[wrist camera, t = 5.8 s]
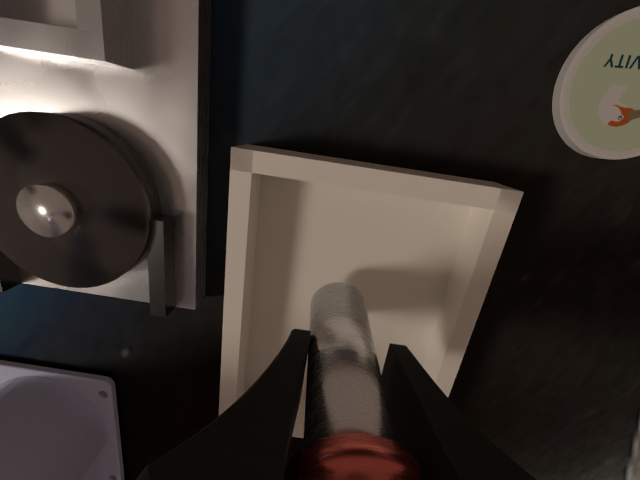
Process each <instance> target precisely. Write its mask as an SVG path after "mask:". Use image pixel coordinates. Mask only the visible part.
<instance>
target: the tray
mask: <svg viewBox="0 0 640 480" xmlns="http://www.w3.org/2000/svg"><path fill="white" fill-rule="evenodd" d="M523 193H524V192H522V191H519V190H516V189H513V188H510V187H507V186H504V185H501V184H498V183H495V182H491V181H484V180H478V179H471V178H465V177H458V176H452V175H445V174H439V173H432V172H426V171H419V170H413V169H406V168H400V167H393V166H387V165H380V164H374V163H367V162H361V161H354V160H348V159H341V158H335V157H328V156H322V155H315V154H309V153H302V152H296V151H289V150H283V149H276V148H270V147H263V146H257V145H250V144H246V145H240V146H234V147H231V159H230V181H229V202H228V224H227V245H226V267H225V289H224V310H223V332H222V353H221V375H220V397H219V416H220V415H221V414H222V413H223V412H224V411H225V410H227V409H228V408H229V407H230V406H231V405H232V404H233V403H235V402H236V401H237V400H238V399H239V398H240V397H241V396H242V395H243V394H244V393H245V392H246V391H247V390H248V389H249V388H250V387H251V386H252V385H253V384H254V383H255V382H256V380H257V379H258V378H259V377H260V376H261V375H262V373H263V372H264V371H265V370H266V369H267V368H268V366H269V365H270V364H271V363H272V361H273V360H274V359H275V357H276V356H277V354H278V353H279V352H280V350H281V349H282V347H283V346H284V344H285V342H286V341H287V339H288V337H289V335H290V333H291V331H292V330H293V329H301V330H308V331H309V325H310V306H311V300H312V297H313V295H314V294H315V292H316V291H317V290H318V289H320V288H321V287H323V286H324V285H327V284H330V283H335V282H341V283H347V284H350V285H352V286H354V287H355V288H357V289H358V290H359V291H360V292H361V294H362V295H363V297H364V300H365V305H366V309H367V314H368V318H369V323H370V327H371V332H372V336H373V341H374V345H375V349H376V354H377V358H378V363H379V367H380V372H381V374H382V371H383V367H384V363H385V359H386V356H387V352H388V348H389V344H390V343H392V344H399V345H405V346H407V347H408V349H409V350H410V351H411V352H412V354H413V355H414V356H415V358H416V359H417V360H418V362H419V363H420V364H421V365H422V367H423V368H424V369H425V371H426V372H427V373H428V374H429V376H430V377H431V378H432V379H433V381H434V382H435V383H436V384H437V385H438V387H439V388H440V389H441V390H442V391H443V393H444V394H445V395H446V396H447V397H449V394H450V391H451V389H452V386H453V383H454V381H455V378H456V375H457V372H458V370H459V367H460V364H461V362H462V359H463V356H464V353H465V351H466V348H467V345H468V343H469V340H470V337H471V334H472V332H473V329H474V326H475V324H476V321H477V318H478V315H479V313H480V310H481V307H482V305H483V302H484V299H485V296H486V294H487V291H488V288H489V286H490V283H491V280H492V277H493V275H494V272H495V269H496V267H497V264H498V261H499V258H500V256H501V253H502V250H503V248H504V245H505V242H506V239H507V237H508V234H509V231H510V229H511V226H512V223H513V220H514V218H515V215H516V212H517V210H518V207H519V204H520V201H521V199H522V196H523ZM307 363H308V356H307V362H306V368H305V374H304V381H303V387H302V393H301V399H300V404H299V408H298V413H297V417H296V421H295V425H294V430H293V434H292V437H298V438H304V419H305V401H306V382H307Z"/></svg>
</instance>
